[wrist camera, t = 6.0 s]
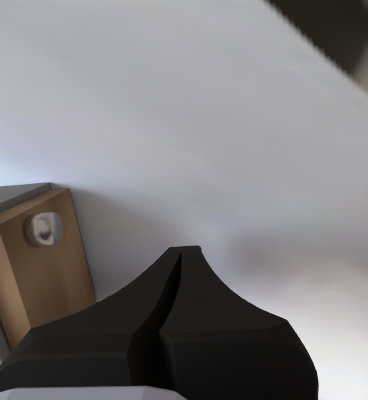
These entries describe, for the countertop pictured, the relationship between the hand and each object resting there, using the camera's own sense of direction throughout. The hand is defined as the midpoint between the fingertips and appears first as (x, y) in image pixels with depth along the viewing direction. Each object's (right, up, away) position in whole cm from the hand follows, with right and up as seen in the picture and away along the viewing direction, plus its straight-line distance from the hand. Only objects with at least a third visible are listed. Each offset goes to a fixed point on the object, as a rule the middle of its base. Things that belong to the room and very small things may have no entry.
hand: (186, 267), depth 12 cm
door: (-5, -2, +3) cm, 6 cm away
